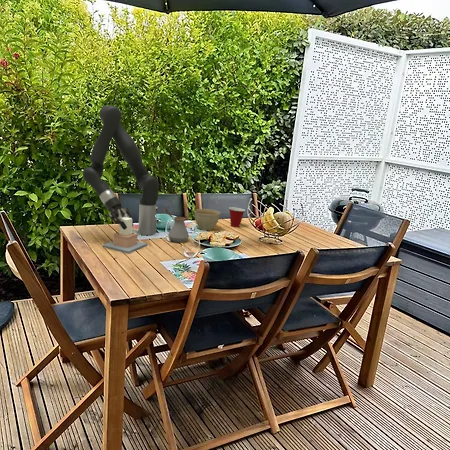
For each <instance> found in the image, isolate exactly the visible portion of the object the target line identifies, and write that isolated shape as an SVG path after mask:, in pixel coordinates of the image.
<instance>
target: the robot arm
mask: <svg viewBox="0 0 450 450" xmlns="http://www.w3.org/2000/svg"><path fill="white" fill-rule="evenodd" d="M99 118H100V120H101V122H102V128H101V131H100V133H99V135H98V137H97V139H96V140H95V143H94V145H93V147H92V150H91V154H90V156H89V161H90V162H91V166H90V167H89V166H88V167H86V168H84V169H83V170H82V178H83V179H84V181H85V182H86V183H87V184H88V185H89V186H90V187H91V188H92V189H93V190H94V191H95V193H96V194H97V196H98V197H99V199H100V200H101V202H102V203H103V205H104V207H105V208H106V209H107V211H108V212H109V214H108V215H107V216H108V217H109V218H110V220H112V222H114V224H118V225H119V224H120V225H121V227H122V228H123V229H124V230H125V229H126V228H127V226H126V225H125V223H124V222H122V221H123V220H122V218H123V217H128V218H132V217H133V216H132V214H131V211H130V210H129V208H128V207H126V208H124V207H122V203H121V201H120V199H119V198H118V196H117V195H116V194H115V192H114V191H113V190H112V189H111V187H110V186H109V184H108V183H107V182H106V181H104V180H102V178H103V174H104V163H105V159H106V156H107V153H108V150H109V147H110V144H111V141H112V138H113V140H114V142H115V144H116V146H117V148H118V150H119V152H120V154H121V156H122V158H123V159H124V160H125V162H126V164H127V166H128V167H129V169H130V171H131V172H132V173H133V176H134V178H135V181H136V183H137V185H138V187H139V188H140V189H141V191H142V197H141V198H140V199H139V206H138V208H139V209H138V211H139V213H138V233H137V234H139V235H143V236H152V235H155V234H157V221H158V220H157V214H156V207H157V201H158V199H159V188H160V184H159V180H158V179H157V177H154V176H152V175H150V173H149V172H148V171H147V169H146V167H145V165H144V162H143V157H142V153H141V151H140V149H139V147H138V145H137V143H136V142H135V140H134V139H133V138H132V136H130V134H129V133H128V132H127V131H126V130H125V128H124V127H123V125H122V122H121V120H122V112H121V110H120V109H119V108H118V107H117V106H113V105H104V106H102V107H101V108H100V110H99ZM155 215H156V217H155ZM132 227H134V223H133V222H132Z"/></svg>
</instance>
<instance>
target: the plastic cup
mask: <svg viewBox="0 0 450 450" xmlns="http://www.w3.org/2000/svg"><path fill="white" fill-rule="evenodd" d="M228 209H229V217H230V226H231V227H233V228H239V227H240V226H241V222H242V220H243V216H244V213H245V212H246V209H244V208H240V207H233V206H231V207H230V206H229V207H228Z"/></svg>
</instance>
